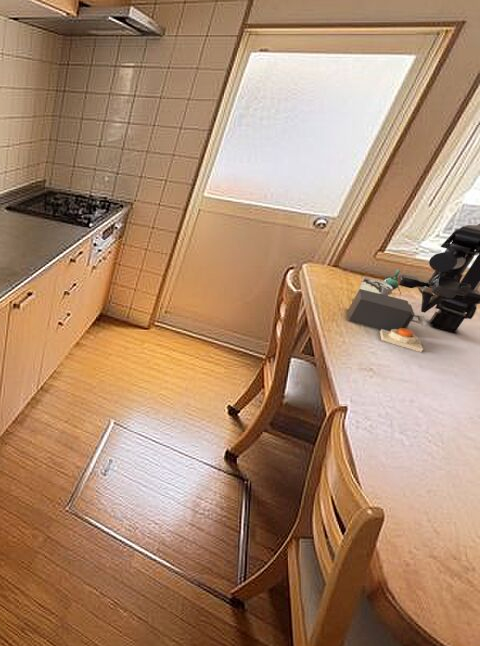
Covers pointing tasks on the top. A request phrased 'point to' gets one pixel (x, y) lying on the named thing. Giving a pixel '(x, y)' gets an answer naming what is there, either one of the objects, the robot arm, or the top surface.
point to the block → (401, 339)
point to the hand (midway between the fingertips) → (422, 311)
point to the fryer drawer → (420, 317)
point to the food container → (375, 286)
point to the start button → (405, 332)
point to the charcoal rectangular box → (378, 311)
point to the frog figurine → (392, 281)
